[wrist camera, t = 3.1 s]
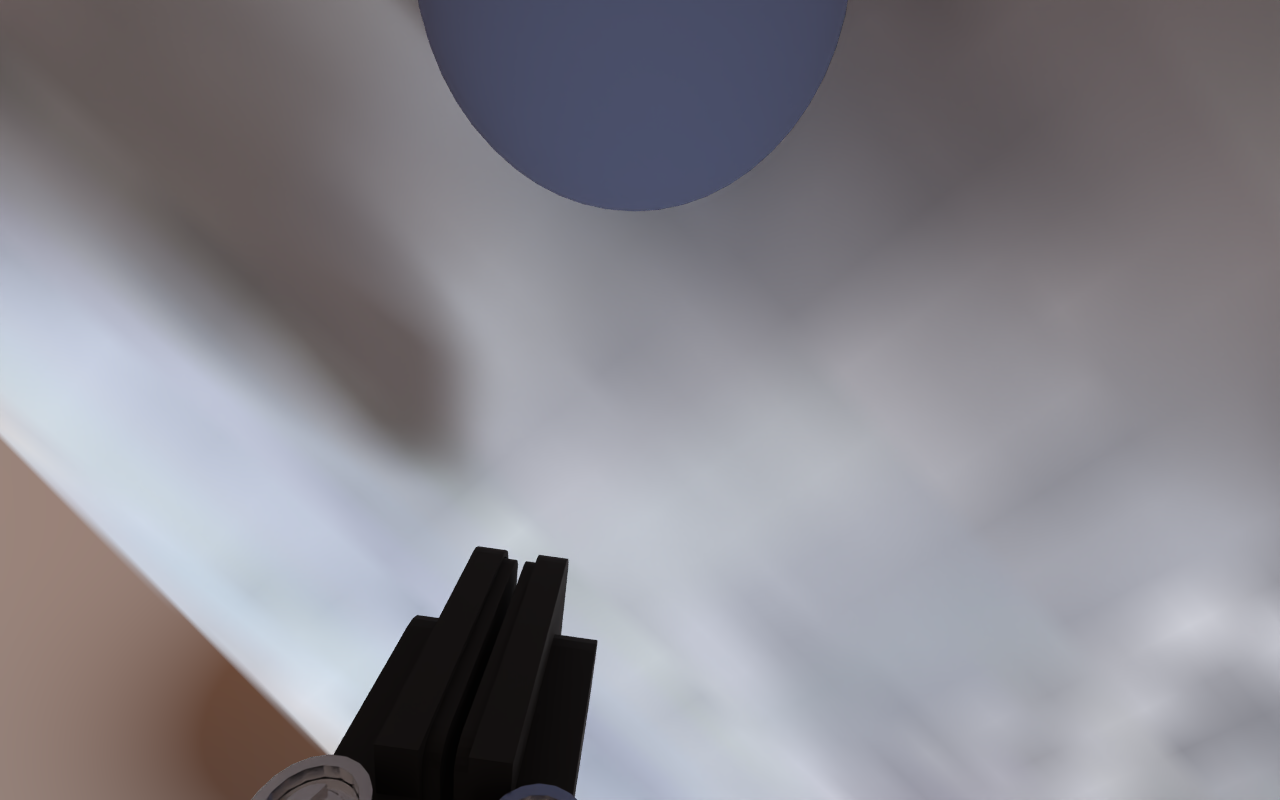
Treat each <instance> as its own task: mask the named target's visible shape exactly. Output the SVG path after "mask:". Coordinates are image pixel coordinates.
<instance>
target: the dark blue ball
mask: <svg viewBox="0 0 1280 800" xmlns="http://www.w3.org/2000/svg"><path fill="white" fill-rule="evenodd" d="M847 1H848V0H418V3H419V8H420V12H421V15H422V19H423V22H424V26H425V30H426V33H427V37H428V40H429V43H430V46H431V49H432V51H433V54H434V56H435V59H436V61H437V64H438V66H439V69H440V71H441V74H442V76H443V78H444V80H445V81H446V83H447V85H448V87H449V89H450V91H451V93H452V95H453V96H454V98H455V100H456V102H457V103H458V105H459V106H460V108H461V109H462V111H463V112H464V113H465V115H466V116H467V118H468V119H469V121H470V122H471V124H472V125H473V126H474V127H475V129H476V130H477V131H478V132H479V133H480V134H481V135H482V137H483V138H484V139H485V140H486V141H487V142H488V143H489V145H490V146H491V147H492V148H493V149H494V150H495V151H496V152H497V153H498V154H499V155H501V156H502V157H503V158H504V159H505V160H506V161H507V162H508V163H510V164H511V165H512V166H513V167H514V168H515V169H516V170H518V171H519V172H521V173H522V174H524V175H525V176H526V177H528V178H529V179H531V180H532V181H534V182H535V183H537V184H538V185H540V186H542V187H544V188H546V189H548V190H550V191H552V192H554V193H556V194H558V195H560V196H562V197H565V198H568V199H571V200H573V201H576V202H579V203H582V204H585V205H590V206H595V207H599V208H604V209H611V210H625V211H646V210H659V209H664V208H669V207H674V206H679V205H683V204H686V203H689V202H692V201H695V200H698V199H700V198H703V197H706V196H708V195H710V194H712V193H714V192H716V191H718V190H720V189H722V188H724V187H726V186H728V185H729V184H731V183H732V182H734V181H735V180H737V179H738V178H740V177H741V176H743V175H744V174H746V173H747V172H749V171H750V170H751V169H752V168H754V167H755V166H756V165H757V164H758V163H759V162H760V161H762V160H763V159H764V158H765V157H766V156H767V155H768V154H769V153H771V152H772V151H773V150H774V149H775V147H776V146H777V145H778V144H779V143H780V142H781V141H782V140H783V138H784V137H785V136H786V135H787V134H788V133H789V132H790V131H791V129H792V128H793V127H794V125H795V124H796V123H797V121H798V120H799V118H800V117H801V115H802V114H803V113H804V111H805V110H806V108H807V107H808V105H809V104H810V102H811V100H812V98H813V97H814V95H815V93H816V91H817V89H818V87H819V85H820V84H821V82H822V80H823V78H824V76H825V74H826V71H827V69H828V66H829V64H830V61H831V59H832V56H833V54H834V51H835V49H836V46H837V43H838V39H839V36H840V32H841V28H842V25H843V21H844V18H845V14H846V7H847Z"/></svg>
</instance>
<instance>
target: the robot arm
mask: <svg viewBox="0 0 1280 800" xmlns="http://www.w3.org/2000/svg"><path fill="white" fill-rule="evenodd" d="M517 569H518V561H517V560H513V559H508V551H507V550H501V549H494V548H486V547H479V546H477V547H476V548H475V550H474V551H473V553H472V555H471V557H470V559H469V561H468V563H467V565H466V567H465V569H464V571H463V572H462V574H461V576H460V578H459V580H458V582H457V584H456V586H455V588H454V590H453V592H452V594H451V596H450V598H449V600H448V601H447V603H446V605H445V607H444V609H443V611H442V613H441V615H440V617H439V618H434V617H427V616H420V615H417V616H415V617H414V618H413V619H412V620H411V622H410V623H409V625H408V626H407V628H406V630H405V632H404V633H403V635H402V637H401V639H400V640H399V642H398V644H397V645H396V647H395V649H394V651H393V652H392V654H391V656H390V658H389V659H388V661H387V663H386V665H385V666H384V668H383V670H382V671H381V673H380V675H379V677H378V678H377V680H376V682H375V684H374V685H373V687H372V689H371V691H370V692H369V694H368V696H367V698H366V699H365V701H364V703H363V704H362V706H361V708H360V710H359V711H358V713H357V715H356V717H355V718H354V720H353V722H352V724H351V725H350V727H349V729H348V730H347V732H346V734H345V736H344V737H343V739H342V741H341V743H340V744H339V746H338V748H337V750H336V751H335V753H334V755H323V756H316V757H311V758H308V759H306V760H303V761H300V762H298V763H295V764H293V765H291V766H289V767H288V768H286V769H285V770H283V771H282V772H280V773H278V774H277V775H275V776H274V777H273V778H272V779H271V780H270V781H268V782H267V784H265V785H264V786H263V787H262V788H261V789H260V790H259V791H258V792H257V793H256V795H255V796H254V797H253V798H252V800H577V799H576V798H575V791H576V785H577V778H578V772H579V765H580V759H581V752H582V746H583V739H584V733H585V726H586V720H587V713H588V706H589V699H590V693H591V686H592V678H593V671H594V664H595V656H596V649H597V640H591V639H584V638H577V637H570V636H563V635H561V630H562V620H563V611H564V602H565V592H566V583H567V573H568V559H565V558H558V557H551V556H544V555H539V556H538V558H537V560H536V563H534V562H527V561H526V562H525V564H524V566H523V569H522V572H521V575H520V577H519V580H518V583H517ZM516 584H517V585H516Z"/></svg>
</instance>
